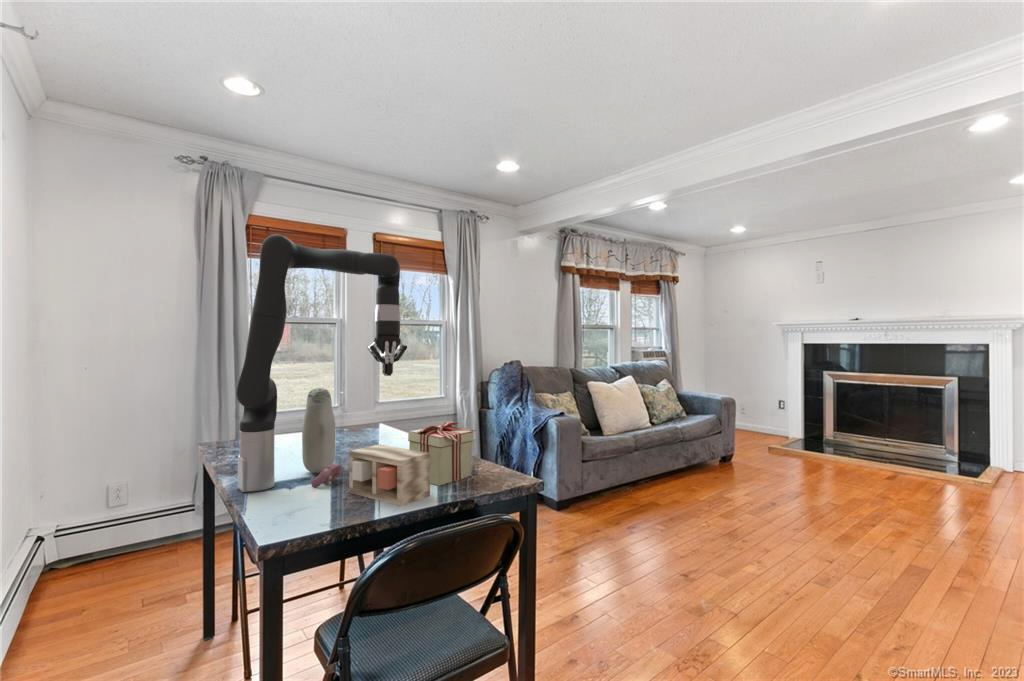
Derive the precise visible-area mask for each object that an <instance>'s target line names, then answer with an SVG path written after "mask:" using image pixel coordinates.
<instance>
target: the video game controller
mask: <svg viewBox="0 0 1024 681" xmlns="http://www.w3.org/2000/svg"><path fill="white" fill-rule="evenodd" d="M343 471H344V467H343V466H342V465H341V464H337V463H335V464H334V463H333V464H332V465H329V466H328V467H327V468H325V469H324V470H323V471H322V472H321V473H319V474H318V475H317V476H316V477H315V478H314V479H312V481H311V487H313V488H318V487H320V486H322V485H325V486H328V485H329V484H330V483H334V482H335V481H336V480H337V478H338V477H339V475H341V473H342V472H343Z"/></svg>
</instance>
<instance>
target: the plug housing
mask: <svg viewBox="0 0 1024 681" xmlns="http://www.w3.org/2000/svg"><path fill="white" fill-rule="evenodd" d="M348 455H349V460H348V461H349V464H348V466H349V473H348V475H349V476H348V477H349V479H348V480H349V482H348V484H349V486H348V487H349V488H348V490H349V493H350V494H353V495H357V496H361V497H365V498H367V497H368V498H367V499H371V500H375V501H378V502H379V501H380V502H384V503H386V502H387V504H391V505H394V506H398V507H403V506H406V505H409V504H411V503H413V502H416V501H419V500H422V499H424V497H425V498H426V497H430V496H431V484H430V453H427V452H421V451H415V450H409V448H402V447H398V446H390V445H386V444H380V443H379V444H376V445H375V444H374V445H370V446H366V447H362V448H357V449H353V450H349V454H348ZM361 459H366V460H371V461H372V479H369V480H365V481H358V480H353V479H352V462H353V461H357V460H361ZM389 465H396V466H397V487H395V488H392V489H389V490H386V489H382V488H378V468H382V467H386V466H389Z"/></svg>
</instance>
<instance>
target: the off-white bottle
mask: <svg viewBox="0 0 1024 681" xmlns="http://www.w3.org/2000/svg"><path fill="white" fill-rule="evenodd" d="M332 406H333V403H332V396H331V393H330V391H329V390H328V389H326V388H323V387H317V388H313V389H311V390H310V391H309V392H308V394H307V396H306V406H305V411H304V414H303V419H302V425H301V441H302V442H301V444H302V448H301V450H302V451H301V452H302V454H301V455H302V463H303V465H304V466H303V467H305V469H306V470H307V471H308V472H310V473H312V474H320V473H321V472H322V471H323V470H324V469H325V468H327V467H328V466H329V465H332V464H334V462H335V459H336V458H335V457H336V419H335V415H334V411H333V410H334V409H333V407H332Z"/></svg>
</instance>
